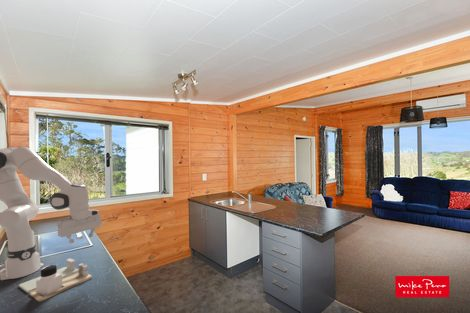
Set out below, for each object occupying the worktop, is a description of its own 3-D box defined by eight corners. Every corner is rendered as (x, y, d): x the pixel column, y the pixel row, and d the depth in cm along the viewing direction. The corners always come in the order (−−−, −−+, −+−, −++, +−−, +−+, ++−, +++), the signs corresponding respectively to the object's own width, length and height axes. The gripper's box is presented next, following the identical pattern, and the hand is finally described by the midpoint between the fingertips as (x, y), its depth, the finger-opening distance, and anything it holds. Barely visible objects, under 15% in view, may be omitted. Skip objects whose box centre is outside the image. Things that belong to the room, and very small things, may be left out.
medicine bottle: (62, 287, 115) (61, 263, 115) (48, 296, 108) (47, 271, 108) (51, 286, 116) (49, 263, 116) (36, 295, 109) (34, 270, 109)
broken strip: (19, 286, 118) (18, 274, 118) (69, 267, 137) (68, 256, 137) (27, 293, 111) (27, 280, 111) (79, 272, 130) (78, 261, 130)
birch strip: (29, 294, 110) (28, 281, 110) (81, 272, 129) (80, 261, 129) (39, 302, 104) (38, 288, 104) (92, 278, 123) (91, 266, 123)
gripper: (60, 220, 114) (61, 248, 114) (102, 210, 131) (103, 234, 131) (54, 218, 117) (56, 245, 117) (96, 209, 135) (97, 232, 135)
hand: (81, 239), depth 125 cm, fingers open, 8 cm apart
